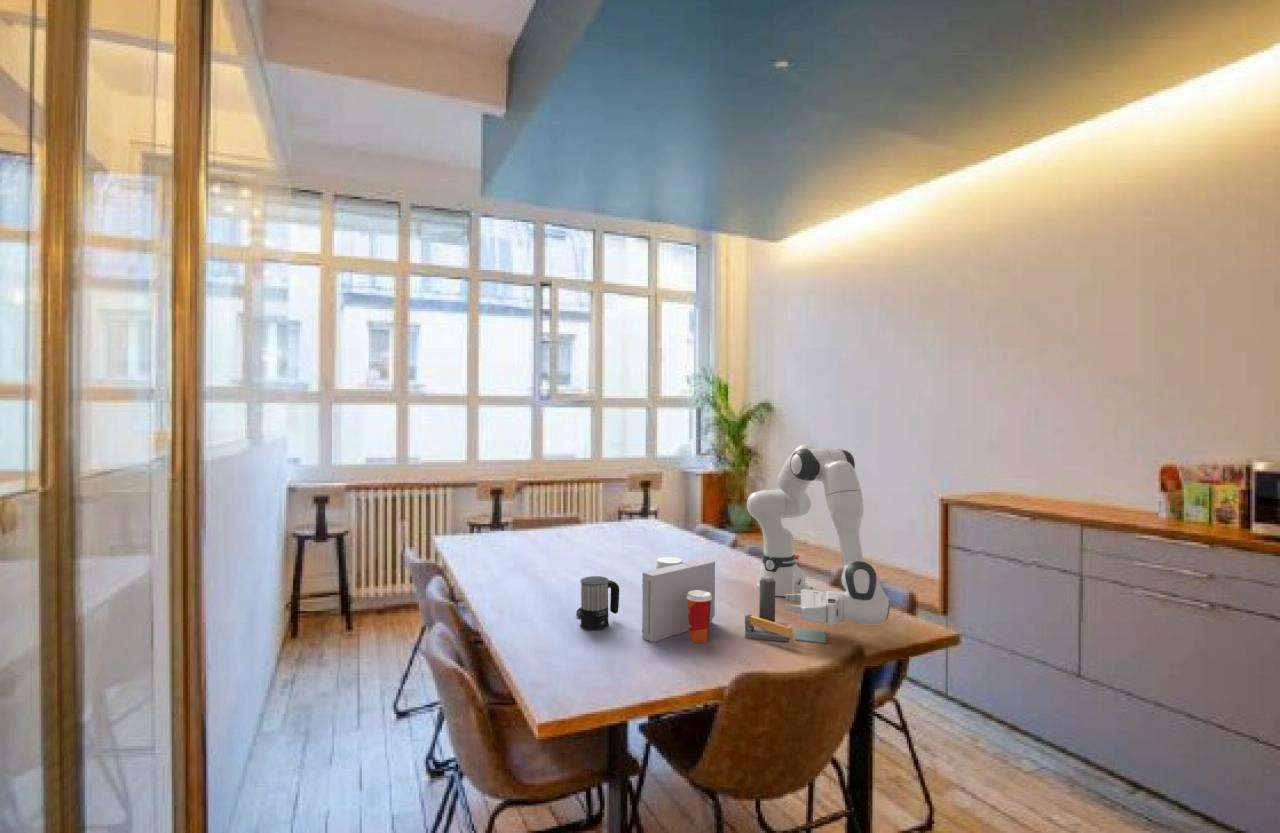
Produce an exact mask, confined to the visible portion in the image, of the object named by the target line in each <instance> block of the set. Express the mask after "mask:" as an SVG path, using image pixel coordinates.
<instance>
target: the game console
mask: <svg viewBox="0 0 1280 833" xmlns="http://www.w3.org/2000/svg"><path fill="white" fill-rule="evenodd" d="M641 586H642V614H641V615H642V616H641V617H642V621H641V622H642V624H641V626H642V628H641V634H642V635H641V636H642V639H644V640H646V641H648V640H649V642H651V643H654V642H657V641H660V640H663V639H666V638H669V637H672V636H675V635H678V634H681V633H685V632H687V631H688V632H689V619H688V599H687V598H686V597H687V595H688V592H690V591H693V590H702V591H707V592H710V594H711V597H712V599H711V607H710V623H709V625H710V624H711V623H712V620H713V619H714V618H715V614H716V613H715V612H716V611H715V608H716V607H715V605H716V603H715V602H716V598H715V597H716V561H714V560H709V559H706V558H699V559H695V560H689V561H686V562H682V564H678V565H673V566H668V567H664V568H659V569H656V568H655V569H650V570H643V571H642V585H641ZM659 639H660V640H659ZM653 641H654V642H653Z"/></svg>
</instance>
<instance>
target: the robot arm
mask: <svg viewBox="0 0 1280 833" xmlns="http://www.w3.org/2000/svg"><path fill="white" fill-rule="evenodd" d="M855 464H856V461H855V459H854V456H853V454H852V453H851V452H849V451H847V450H846V449H842V448H837V449H835V448H829V447H828V448H826V447H822V448H816V447H815V446H813V445H812V444H808V443H804V444H800V445H798V446H797V447H796V448H795V449H794V450H793V451H792V453H791V454H790V455H789V456H788V458H787V459H786V461H785V462H784V464H783V466H782V467H781V469H780V471H779V472H778V475H777V485H778V487H779V489H764V490H763V489H762V490H759V491H754V492H752V493H750V495H749V496H748V498H747V500H746V508H747V511H748V513H749V515H750V516H751V517H752V518H753V519H754V520H755V521H756V522H757V523H758V525H759V526H760V528H761V532H762V537H763V538H762V539H763V553H762V557H761V558H762V565H761V566H760V568H759V570H760V571H759V578H758V579H759V581H758V583H756V587H757V588H758V591H760V580H761V577H762V576H770V577H773V578H774V581H775V597H785V601H786V603H785V604H784V611H786V612H792V613H795V614H799V615H800V619H802V620H804V621H807V622H813V623H819V624H825V623H826V625H827V626H835V625H836V624H837V623H848V622H849V623H850V622H851V623H855V624H858V625H882V624H884V623H885V622H886V621H887V619H888V618H889V614H890V608H891V601H890V599H889V597H888V596H887V595H886V593H885V592H884V590H883V588H882V586H881V584H880V582H879V578H878V576H877V573H876V570H875V569H874V567H872V565H871V564H870V563H867V562H865V561H864V556H863V550H862V545H861V539H860V528H861V524H862V519H863V515H864V501H863V500H864V499H863V494H862V489H861V485H860V481H859V478H858V475H857V473H856V471H855V466H856V465H855ZM814 481H815V482H821V483H822V484H823V488H824V496H825V501H826V505H827V507H828V508H827V509H828V512H829V515H830V517H831V520H832V522H833V525H834V527H835V530H836V533H837V537H838V540H839V546H840V551H841V552H840V554H841V559H842V570H841V573H840V577H839V582H840V587H841V588H842V590H843V591H836V590H826V591H822V590H818V589H812V588H813V587H812V584H811V583H807V582H806V573H805V572H804V571H803V569H801V567H799V566H798V565H797V562H796V560H797V561H798V560H799V559H800V554H798V553H796V554H795V553H794V536H793V533H792V532H791V531H790V530H789V529H787V528H785V527H784V526H783V524H782V519H792V518H793V519H795V518H800V517H802V516H805V515H807V514H808V513H809V512H810V508H811V498H810V496H809V494H808V493H807V492H806V491H807V490H808V487H809V485H810V483H811V482H814ZM792 601H793V602H796V601H797V602H800V604H796V605H795V604H791V603H787V602H792Z"/></svg>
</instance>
